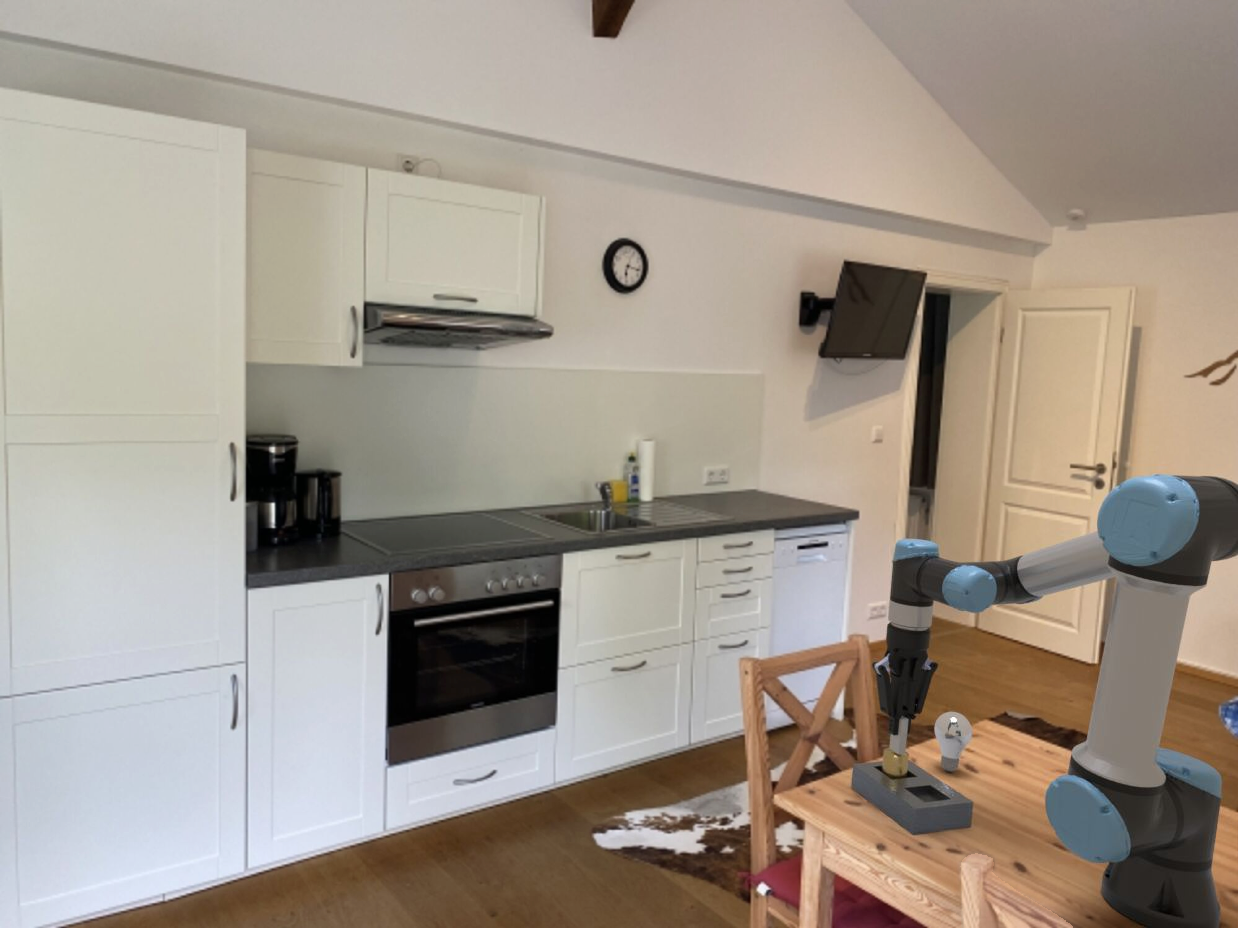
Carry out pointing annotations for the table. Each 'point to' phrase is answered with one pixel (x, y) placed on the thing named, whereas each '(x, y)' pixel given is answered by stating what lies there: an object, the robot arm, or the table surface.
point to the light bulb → (952, 738)
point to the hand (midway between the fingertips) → (897, 750)
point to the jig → (913, 798)
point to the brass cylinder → (895, 764)
